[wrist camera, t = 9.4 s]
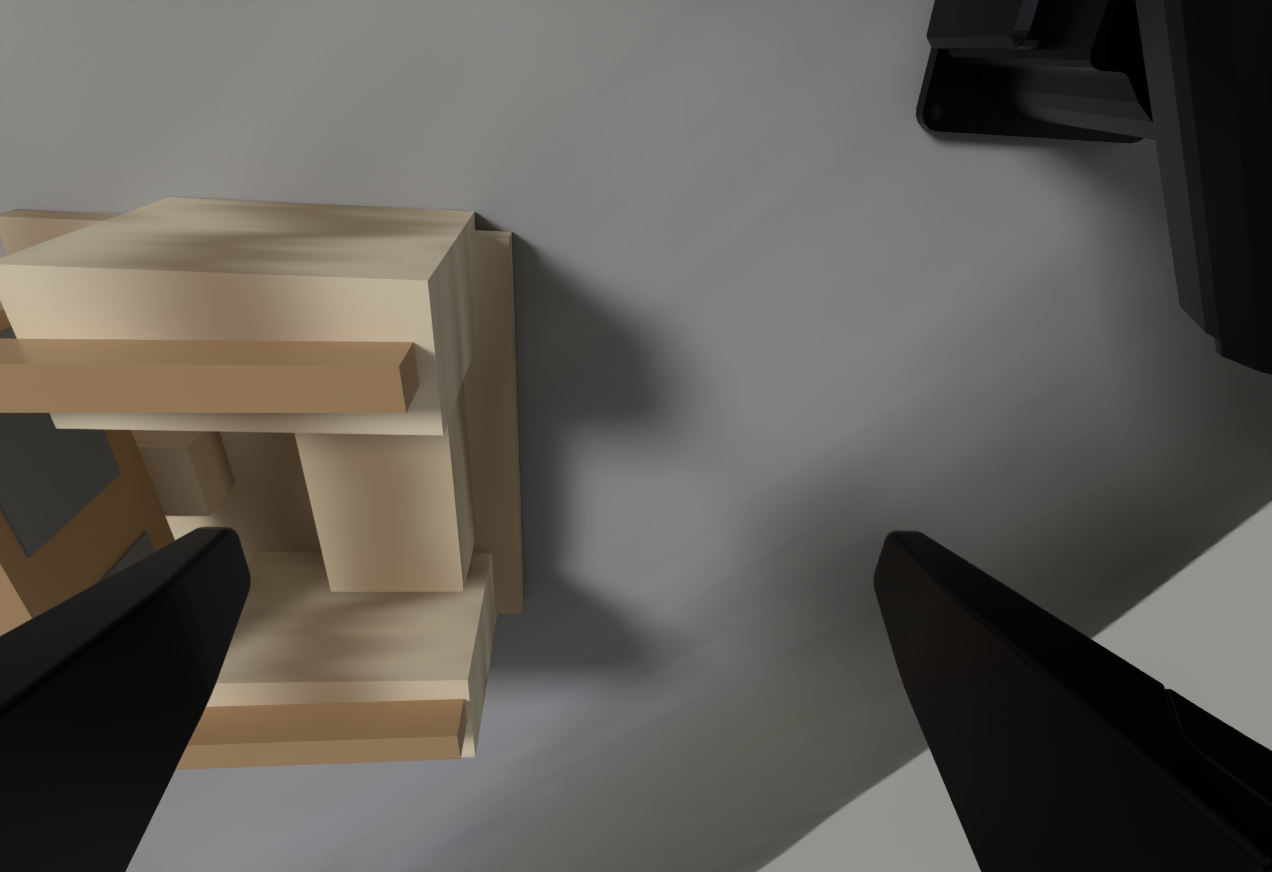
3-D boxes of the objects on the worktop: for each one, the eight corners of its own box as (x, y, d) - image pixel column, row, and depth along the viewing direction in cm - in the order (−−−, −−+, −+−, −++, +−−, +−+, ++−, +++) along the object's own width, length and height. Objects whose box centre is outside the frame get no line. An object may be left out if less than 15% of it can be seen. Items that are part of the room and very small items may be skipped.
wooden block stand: (510, 213, 18) (479, 282, 13) (524, 608, 26) (508, 756, 21) (7, 189, 17) (-257, 254, 12) (174, 609, 25) (59, 766, 19)
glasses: (446, 284, 17) (398, 366, 12) (484, 624, 23) (460, 758, 19) (5, 278, 16) (-208, 363, 12) (165, 631, 22) (63, 773, 18)
